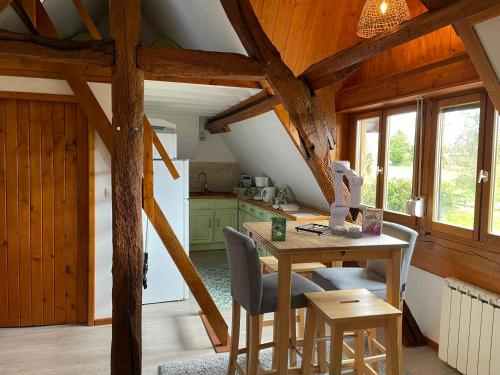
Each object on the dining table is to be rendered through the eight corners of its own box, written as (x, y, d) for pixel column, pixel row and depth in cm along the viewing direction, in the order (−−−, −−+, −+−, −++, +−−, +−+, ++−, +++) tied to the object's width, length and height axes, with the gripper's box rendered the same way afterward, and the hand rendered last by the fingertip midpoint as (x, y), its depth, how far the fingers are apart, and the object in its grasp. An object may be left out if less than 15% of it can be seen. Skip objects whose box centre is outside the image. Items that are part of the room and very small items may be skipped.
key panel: (328, 237, 229) (329, 229, 228) (335, 234, 236) (336, 227, 235) (358, 241, 217) (358, 233, 217) (364, 239, 224) (364, 231, 224)
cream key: (334, 232, 229) (334, 227, 228) (337, 231, 232) (338, 226, 232) (341, 233, 226) (341, 228, 226) (344, 232, 229) (344, 227, 229)
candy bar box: (360, 235, 234) (362, 208, 233) (363, 234, 239) (364, 207, 237) (380, 237, 229) (381, 210, 227) (382, 236, 233) (383, 209, 231)
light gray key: (348, 232, 223) (349, 227, 223) (352, 231, 226) (352, 226, 226) (356, 233, 220) (356, 228, 220) (359, 232, 224) (359, 227, 223)
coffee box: (285, 240, 219) (286, 216, 218) (286, 241, 216) (286, 217, 215) (271, 239, 219) (271, 216, 218) (271, 240, 216) (271, 217, 215)
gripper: (340, 196, 223) (339, 220, 224) (364, 198, 214) (363, 223, 215) (345, 195, 229) (344, 218, 230) (369, 197, 219) (368, 221, 221)
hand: (354, 221), depth 223 cm, fingers closed
